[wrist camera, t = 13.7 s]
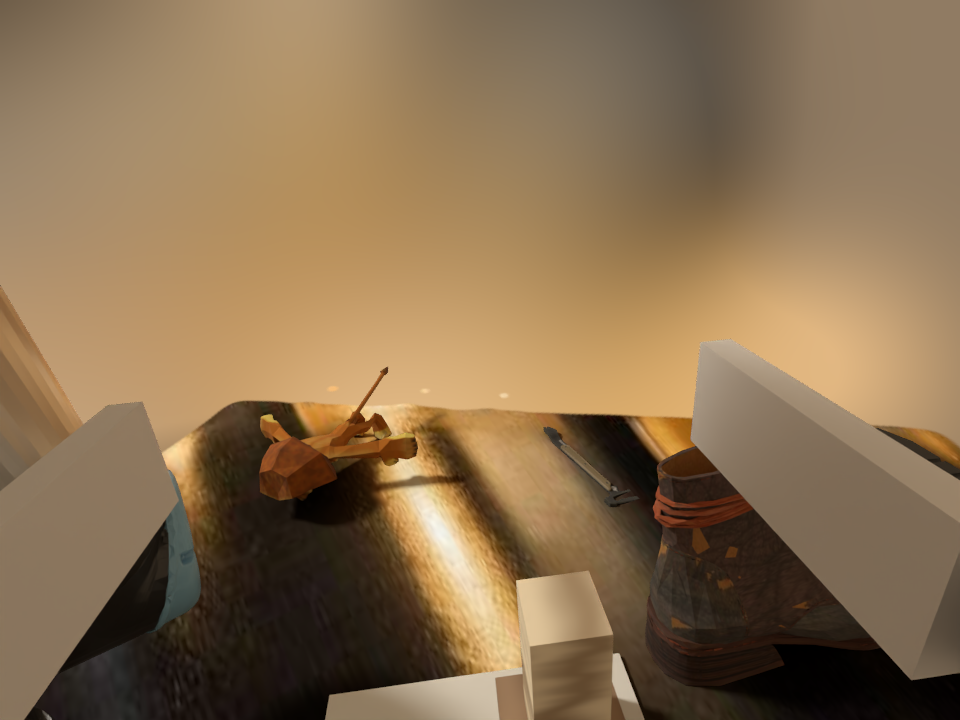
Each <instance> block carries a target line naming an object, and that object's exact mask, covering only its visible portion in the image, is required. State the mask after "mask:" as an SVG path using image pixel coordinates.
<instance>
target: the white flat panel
mask: <svg viewBox="0 0 960 720" xmlns="http://www.w3.org/2000/svg"><path fill="white" fill-rule="evenodd" d="M518 674H523V673H522V667H521V668H514V669H507V670H500V671H493V672H486V673H479V674H472V675H465V676H458V677H452V678H445V679H438V680H431V681H424V682H417V683H410V684H403V685H396V686H389V687H382V688H376V689H369V690H362V691H355V692H348V693H341V694H334V695H330V696H329V701H328V706H327V712H326V717H325V720H499V712H498V702H497V692H496V682H495V678H497V677H504V676H511V675H518ZM612 683H613V686H614V689H615V692H616V694H617V697H618V700H619V703H620V706H621V709H622V712H623V714H624V717H625V720H644V717H643V714H642V712H641V709H640V706H639V704H638V701H637V699H636V696H635V693H634V691H633V688H632V686H631V683H630V680H629V678H628V675H627V673H626V670H625V667H624V665H623V662H622V660H621V657H620V654H619V653H617V654H613V664H612Z"/></svg>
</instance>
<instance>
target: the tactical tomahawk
mask: <svg viewBox="0 0 960 720" xmlns="http://www.w3.org/2000/svg"><path fill="white" fill-rule="evenodd" d="M544 432H545V433H546V434H547V435H548V436H549V437H550V439H551V441H552V443H553V444H554V445H555V446H556V447H558V448H559V449H560V450H561V451H562V452H563V453H564V454H565V455H567V456H568V457H569V458H570V459H571V460H572V461H574V462H575V463H576V464H577V465H578V466H579V467H580V468H581V469H582V470H584V471H585V472H586V473H587V474H588V475H589V476H590V477H591V478H593V479H594V480H595V481H596V482H597V483H598V484H599V485H600V486H602V487H603V488H604V489H605V490H606V491H607V492H608V493H610V496H609V497H606V498H605V500H604V502H605V503H606V504H607V505H608V506H609V507H616V506H617V504H623V503H628V502H631V501H634V500H637V499H639V498H638V497H637V496H635V497H628V498H625V499H621V500H619V501H616V500H614V499H613V498H615V497H617V496H619V495H622V494H624V493H626V492H629V491H630V490H629V489H628V490H626V491H619V490H618V488H617V486H612V485H611V483H610V482H609V481H607V479H605V478H604V477H603V476H602V475H601V474H600V473H599V472H598V471H597V470H595V469H594V468H593V467H592V466H591V465H590V464H589V463H588V462H587V461H586V460H584V459H583V458H582V457H581V456H580V455H579V454H578V453H577V452H575V450H573V449H572V448H571V447H570V446H569V445H566V444H565V443H564V442H563V441H562V440H561V438H560V437H559V435H558V433H557V430H555V429H553V428H550V427H547V428H546V427H544Z"/></svg>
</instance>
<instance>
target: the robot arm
mask: <svg viewBox="0 0 960 720" xmlns="http://www.w3.org/2000/svg"><path fill="white" fill-rule="evenodd" d="M691 441H692V442H693V443H694V444H695V445H696V446H697V447H698V448H699V449H700V450H701V452H702V453H703V454H704V455H705V456H706V457H707V458H708V459H709V460H710V461H711V462H712V464H713V465H714V466H715V467H716V468H717V469H718V470H719V471H720V472H721V473H722V474H723V476H724V477H725V478H726V479H727V480H728V481H729V482H730V483H731V484H732V485H733V486H734V488H735V489H736V490H737V491H738V492H739V493H740V494H741V495H742V496H743V497H744V498H745V500H746V501H747V502H748V503H749V504H750V505H751V506H752V507H753V508H754V509H755V510H756V512H757V513H758V514H759V515H760V516H761V517H762V518H763V519H764V520H765V521H766V522H767V523H768V525H769V526H770V527H771V528H772V529H773V530H774V531H775V532H776V533H777V534H778V535H779V537H780V538H781V539H782V540H783V541H784V542H785V543H786V544H787V545H788V546H789V547H790V549H791V550H792V551H793V552H794V553H795V554H796V555H797V556H798V557H799V558H800V559H801V561H802V562H803V563H804V564H805V565H806V566H807V567H808V568H809V569H810V570H811V571H812V573H813V574H814V575H815V576H816V577H817V578H818V579H819V580H820V581H821V582H822V583H823V585H824V586H825V587H826V588H827V589H828V590H829V591H830V592H831V593H832V594H833V595H834V597H835V598H836V599H837V600H838V601H839V602H840V603H841V604H842V605H843V606H844V607H845V609H846V610H847V611H848V612H849V613H850V614H851V615H852V616H853V617H854V618H855V619H856V621H857V622H858V623H859V624H860V625H861V626H862V627H863V628H864V629H865V630H866V631H867V633H868V634H869V635H870V636H871V637H872V638H873V639H874V640H875V641H876V642H877V643H878V645H879V646H880V647H881V648H882V649H883V650H884V651H885V652H886V653H887V654H888V655H889V656H890V658H891V659H892V660H893V661H894V662H895V663H896V664H897V665H898V666H899V667H900V668H901V670H902V671H903V672H904V673H905V674H906V675H907V676H908V677H909V678H910V679H911V680H916V679H923V678H929V677H936V676H942V675H949V674H955V673H960V470H959V469H958V468H956V467H954V466H953V465H951V464H949V463H948V462H946V461H945V462H941V460H940V458H939V457H938V456H936V455H934V454H933V453H931V452H929V451H928V450H926V449H924V448H923V447H921V446H919V445H918V444H916V443H914V442H913V441H910V440H908V439H905V438H902V437H900V436H897V435H895V434H892V433H889V432H887V431H884V430H881V429H879V428H874V427H872V426H871V425H869V424H868V423H866V422H864V421H863V420H861V419H860V418H858V417H856V416H855V415H853V414H851V413H850V412H848V411H847V410H845V409H843V408H842V407H840V406H838V405H837V404H835V403H833V402H832V401H830V400H829V399H827V398H825V397H824V396H822V395H821V394H819V393H817V392H816V391H814V390H813V389H811V388H809V387H808V386H806V385H804V384H803V383H801V382H800V381H798V380H796V379H795V378H793V377H791V376H790V375H788V374H787V373H785V372H783V371H782V370H780V369H778V368H777V367H775V366H773V365H772V364H770V363H769V362H767V361H765V360H764V359H762V358H761V357H759V356H757V355H756V354H754V353H753V352H751V351H749V350H748V349H746V348H744V347H743V346H741V345H740V344H738V343H736V342H735V341H733V340H731V339H727V340H717V341H708V342H700V353H699V361H698V371H697V381H696V392H695V402H694V411H693V421H692V431H691ZM193 548H194V546H193V542H192V535H191V531H190V527H189V523H188V519H187V515H186V511H185V507H184V504H183V500H182V497H181V493H180V490H179V487H178V484H177V481H176V479H175V476H174V475H173V474H172V472H171V471H170V470H168V469H167V467H166V464H165V461H164V459H163V456H162V453H161V451H160V449H159V445H158V443H157V440H156V438H155V434H154V432H153V429H152V426H151V424H150V421H149V418H148V416H147V413H146V410H145V407H144V405H143V402H135V403H125V404H116V405H108V406H106V407H105V408H104V409H102V410H101V411H100V412H99V413H97V414H96V415H95V416H93V417H92V418H91V419H90V420H88V421H87V422H86V423H85V424H83V422H82V421H81V419H80V417H79V416H78V414H77V413H76V411H75V409H74V407H73V406H72V404H71V403H70V401H69V399H68V397H67V396H66V394H65V392H64V391H63V389H62V387H61V386H60V384H59V382H58V381H57V379H56V377H55V376H54V374H53V372H52V371H51V369H50V367H49V366H48V364H47V362H46V361H45V359H44V358H43V356H42V354H41V352H40V351H39V349H38V347H37V346H36V344H35V342H34V341H33V339H32V338H31V336H30V334H29V332H28V331H27V329H26V327H25V326H24V324H23V322H22V321H21V319H20V317H19V316H18V314H17V312H16V311H15V309H14V307H13V305H12V304H11V302H10V300H9V299H8V297H7V295H6V294H5V292H4V290H3V289H2V287H1V285H0V720H55V719H54V718H53V717H52V716H51V715H49V714H48V713H46V712H45V711H43V710H40V709H38V708H36V707H34V705H35V704H36V702H37V701H38V699H39V698H40V697H41V695H42V694H43V692H44V691H45V689H46V688H47V687H48V685H49V684H50V682H51V681H52V680H53V678H54V677H55V675H57V674H59V673H61V672H63V671H65V670H67V669H70V668H72V667H74V666H76V665H78V664H80V663H82V662H85V661H87V660H89V659H91V658H93V657H95V656H97V655H99V654H102V653H104V652H106V651H108V650H110V649H112V648H114V647H117V646H119V645H121V644H123V643H125V642H127V641H129V640H132V639H134V638H136V637H138V636H140V635H142V634H144V633H152V632H154V631H157V630H158V629H160V628H161V627H162V626H163V625H164V624H165V623H166V622H168V621H170V620H172V619H174V618H176V617H178V616H180V615H182V614H184V613H186V612H187V611H189V610H190V609H191V608H192V607H193V606H194V605H195V604H196V602H197V601H198V599H199V596H200V592H201V582H200V574H199V569H198V564H197V559H196V555H195V552H194V551H193Z"/></svg>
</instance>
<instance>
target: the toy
mask: <svg viewBox="0 0 960 720" xmlns="http://www.w3.org/2000/svg"><path fill="white" fill-rule="evenodd" d="M380 372H381V374H380V376H379V378H378V379H377V381H376V382H375V384H374V385H373V387H372V388H371V390H370V391H369V392H368V394H367V395H366V397H365V398H364V400H363V401H362V402H361V404H360V405H359V407H358V408H357V410H356V411H355V412H353V413H352V415H351V417H350V419H348V420H347V421H346V422H345V423H343V424H340V425H339V426H338V427H337V428H336V429H335V430H334V431H333V432H332V433H331V434H328V435H322V436H316V437H312V438H308V439H304V440H299V439H297V438H295V437H291V436H290V435H289V434H287V433H286V432H285V431H284V429H283V428H282V427H281V426H280V424H279V423H278V422H277V421H275V420H273V417H272V415H265V416H262V417H261V421H260V428H261V431H262V432H263V434H264V436H265V438H270V439H272V441H273V442H274V444H272V445H271V446H270V447H269V449H268V451H267V452H266V454H265V456H264V457H263V460H262V464H261V468H260V492H261V493H263V494H265V495H267V496H269V497H272V498H274V499H277V500H285V499H292V498H295V497H296V498H298V499H300V500H302V501H304V500H306V499H307V497H308V494H309V493H311V492H312V489H314V488H317V487H319V486H322V485H324V484H326V483H329V482H331V481H334V480H336V479H337V476H336V472H335V469H334V467H333V465H332V464H331V463H333V462H336V461H337V460H338V459H339V458H379V457H381V458H382V460H383V462H384V464H385V465H387V466H391V465H394V464H396V463H397V462H398V461H399V460H398V458H402V459H410V458H412V457H415V456H416V454H417V449H418V445H417V442H416V439H415V436H414V434H410V433H406V432H405V433H403V434H400V435H398V436H395V437H389V436H390V435H392V433H391V431H390V429H389V427H388V425H387V424H386V422H385V420H384V419H383V417H382V416H381V415H379V414H376V413H374V415H373V416H372V417H371V419H370V420H369V421H366V422H365V418H364V417H363V416H362V414H361V413H360V411H361V409H362V408H363V406H364V405H365V403H366V402H367V400H368V399H369V397H370V396H371V394H372V393H373V391H374V390H375V388H376V387H377V385H378V384H379V382H380V381H381V379H382V378H383V376H384V375H386V374H387V373H388V367H386V368H385V369H383V370H382V371H380ZM371 426H372V428H373V431H374V435H375V437H376V438H378V439H381V440H378V441H373V442H368V443H363V444H357V445H349V446H346V445H347V443H348V441H349V440H350V439H351V438H352V437H354V436H355V435H359V436H363V435H364V432H367V431H368V430H369V429H370V428H371Z"/></svg>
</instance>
